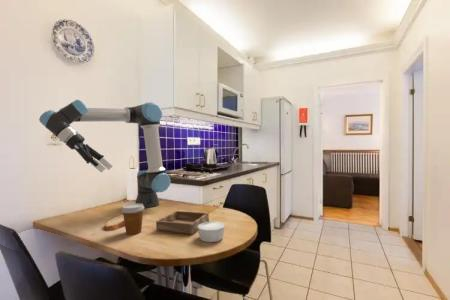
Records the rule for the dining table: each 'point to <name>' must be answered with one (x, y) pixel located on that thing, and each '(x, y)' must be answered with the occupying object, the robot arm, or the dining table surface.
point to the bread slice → (115, 223)
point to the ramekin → (211, 231)
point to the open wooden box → (182, 222)
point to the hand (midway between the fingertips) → (107, 169)
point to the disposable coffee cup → (133, 218)
